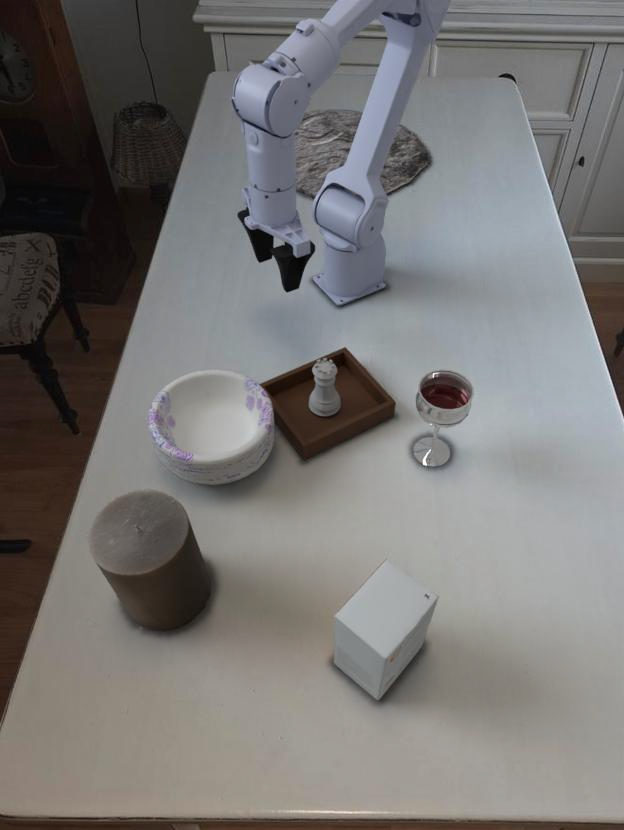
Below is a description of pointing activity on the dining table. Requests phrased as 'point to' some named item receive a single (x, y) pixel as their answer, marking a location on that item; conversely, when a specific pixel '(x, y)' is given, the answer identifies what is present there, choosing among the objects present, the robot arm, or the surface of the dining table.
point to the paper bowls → (212, 426)
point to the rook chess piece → (324, 389)
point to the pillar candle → (151, 559)
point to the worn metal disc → (330, 145)
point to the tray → (357, 413)
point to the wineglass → (441, 411)
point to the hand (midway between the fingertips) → (277, 274)
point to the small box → (382, 627)
